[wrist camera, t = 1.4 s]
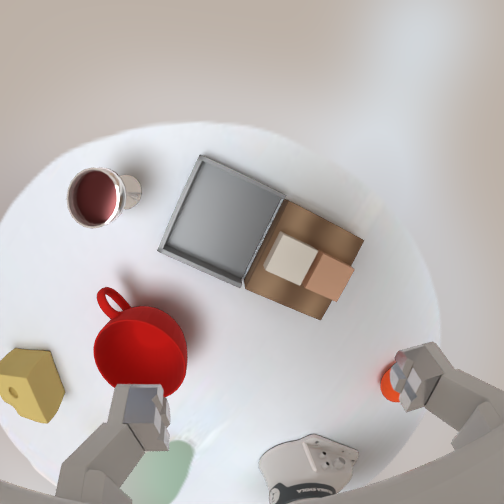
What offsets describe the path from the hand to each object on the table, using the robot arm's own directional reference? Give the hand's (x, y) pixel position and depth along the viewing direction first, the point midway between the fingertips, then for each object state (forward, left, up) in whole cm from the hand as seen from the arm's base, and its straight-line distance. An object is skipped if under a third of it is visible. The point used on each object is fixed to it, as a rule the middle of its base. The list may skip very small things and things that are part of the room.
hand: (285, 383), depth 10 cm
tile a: (-7, +1, -32) cm, 33 cm away
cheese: (+24, +42, -36) cm, 61 cm away
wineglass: (+17, +3, -36) cm, 40 cm away
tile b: (-13, +1, -32) cm, 35 cm away
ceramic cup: (+7, +20, -36) cm, 42 cm away
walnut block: (-10, +1, -36) cm, 37 cm away
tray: (+3, +1, -36) cm, 36 cm away
